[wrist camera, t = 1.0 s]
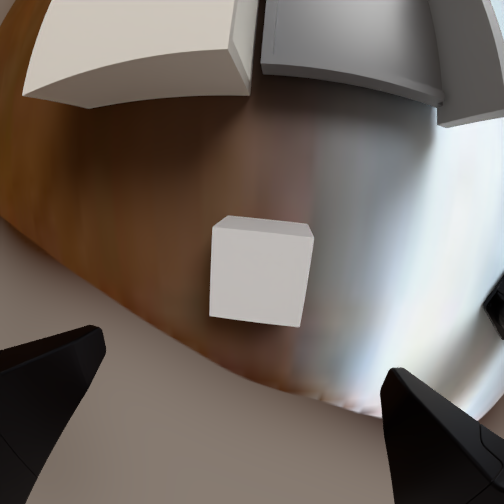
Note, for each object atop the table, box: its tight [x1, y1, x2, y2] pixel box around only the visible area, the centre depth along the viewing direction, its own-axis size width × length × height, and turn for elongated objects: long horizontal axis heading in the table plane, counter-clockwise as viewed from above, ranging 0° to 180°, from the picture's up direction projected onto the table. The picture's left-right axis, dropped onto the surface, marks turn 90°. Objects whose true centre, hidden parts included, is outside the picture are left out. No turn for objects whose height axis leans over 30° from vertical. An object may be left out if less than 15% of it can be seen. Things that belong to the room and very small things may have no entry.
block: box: [209, 216, 314, 327], centre depth 16 cm, size 5×5×4 cm
